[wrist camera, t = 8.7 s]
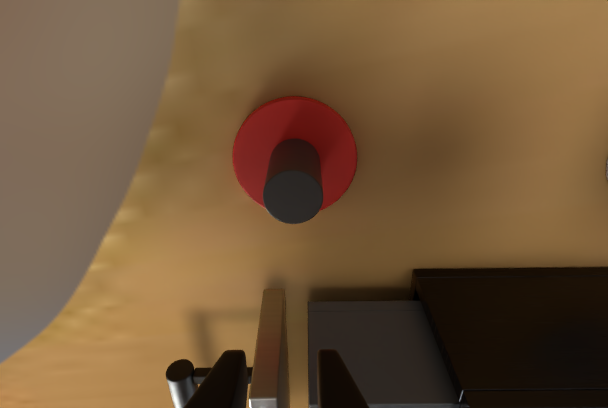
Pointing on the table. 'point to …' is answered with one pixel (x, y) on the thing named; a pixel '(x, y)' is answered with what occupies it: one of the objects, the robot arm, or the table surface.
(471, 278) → the cabinet
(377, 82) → the table surface
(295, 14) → the table surface
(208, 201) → the table surface
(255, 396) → the drawer
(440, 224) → the table surface
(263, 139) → the red lid
